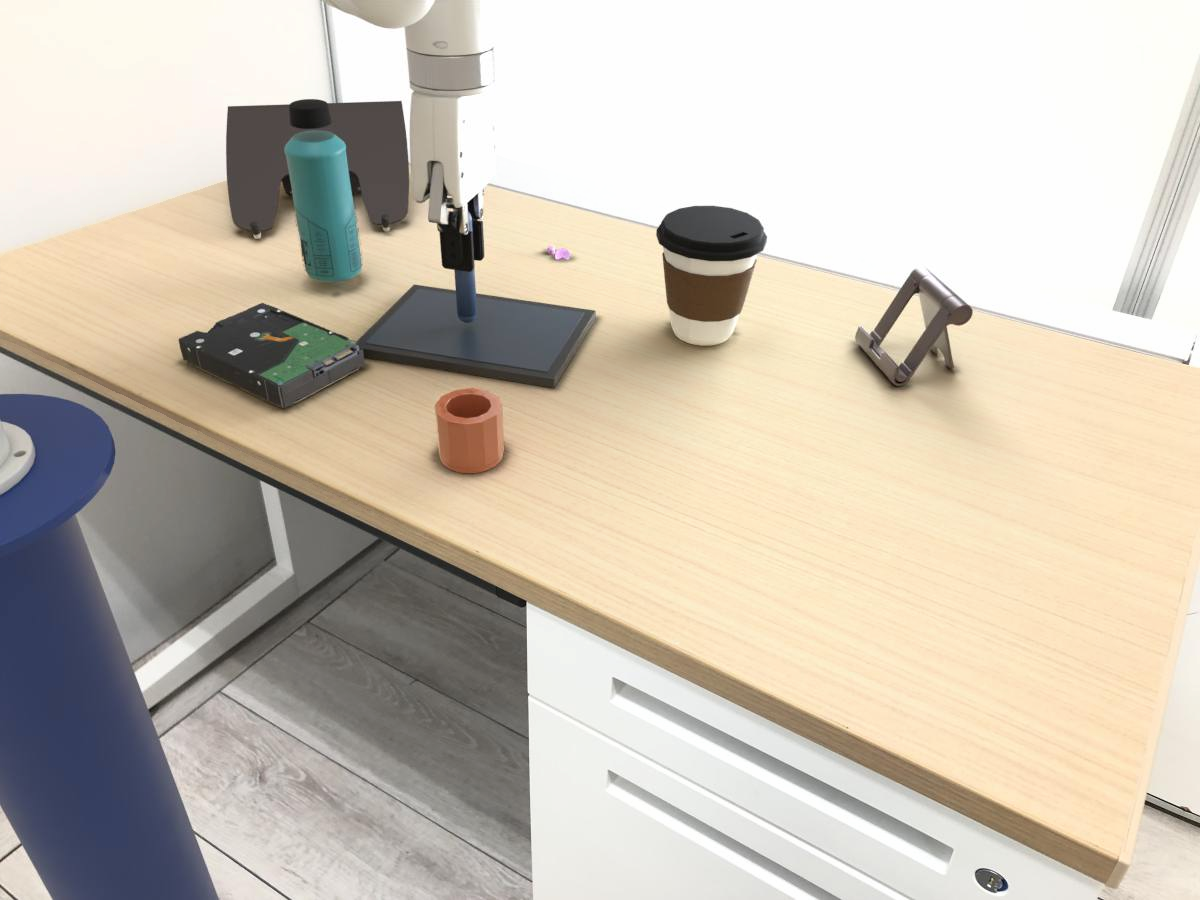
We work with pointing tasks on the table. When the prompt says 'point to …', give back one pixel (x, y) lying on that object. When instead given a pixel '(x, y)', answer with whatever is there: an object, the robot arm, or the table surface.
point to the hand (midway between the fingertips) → (463, 262)
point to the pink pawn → (559, 252)
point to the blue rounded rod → (466, 290)
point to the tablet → (479, 336)
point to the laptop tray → (360, 125)
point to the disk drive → (272, 354)
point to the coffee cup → (708, 269)
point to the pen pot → (470, 430)
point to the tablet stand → (937, 314)
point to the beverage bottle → (322, 195)
